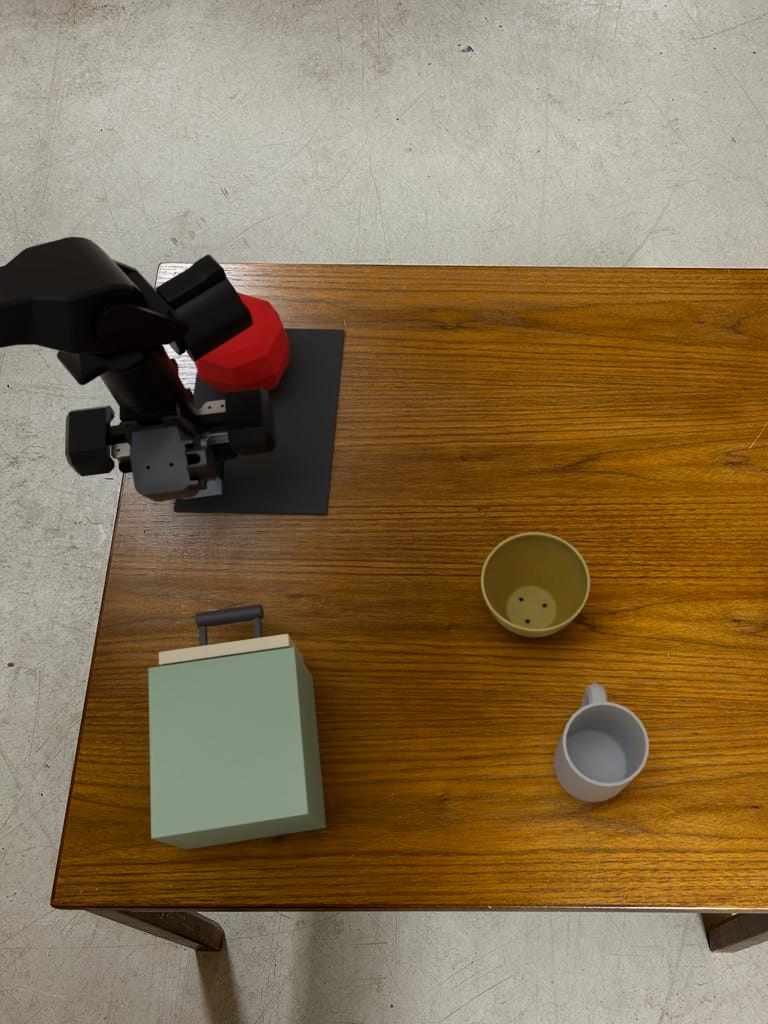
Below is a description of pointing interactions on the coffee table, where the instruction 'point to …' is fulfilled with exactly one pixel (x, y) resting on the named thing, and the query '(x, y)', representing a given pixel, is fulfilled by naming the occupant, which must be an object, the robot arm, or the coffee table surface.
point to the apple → (249, 353)
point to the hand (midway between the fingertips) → (200, 478)
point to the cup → (600, 748)
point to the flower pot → (535, 583)
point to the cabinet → (233, 750)
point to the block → (210, 485)
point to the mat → (286, 436)
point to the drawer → (227, 648)
